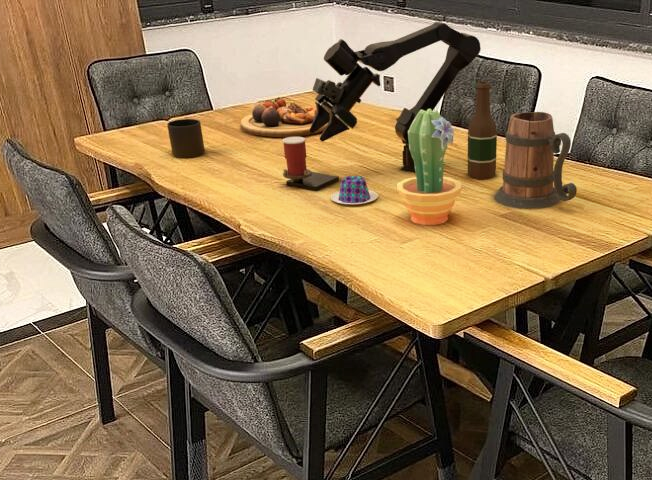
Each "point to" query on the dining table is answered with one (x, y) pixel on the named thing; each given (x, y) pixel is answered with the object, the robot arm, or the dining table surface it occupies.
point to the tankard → (534, 163)
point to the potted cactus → (429, 170)
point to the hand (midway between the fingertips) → (315, 136)
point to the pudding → (354, 191)
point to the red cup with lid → (295, 155)
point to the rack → (310, 180)
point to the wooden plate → (280, 119)
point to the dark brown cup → (186, 138)
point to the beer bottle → (482, 137)
